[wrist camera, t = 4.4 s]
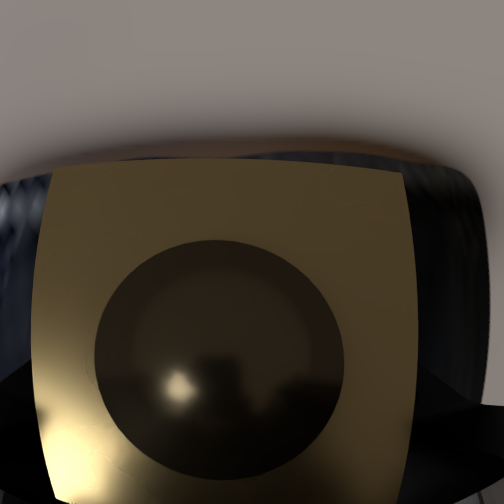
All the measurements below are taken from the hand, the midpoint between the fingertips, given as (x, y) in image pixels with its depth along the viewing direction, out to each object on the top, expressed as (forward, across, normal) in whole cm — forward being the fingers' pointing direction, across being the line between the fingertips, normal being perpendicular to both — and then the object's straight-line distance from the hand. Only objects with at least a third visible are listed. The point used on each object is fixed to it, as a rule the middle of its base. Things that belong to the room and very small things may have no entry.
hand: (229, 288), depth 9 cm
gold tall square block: (+4, 0, +6) cm, 7 cm away
